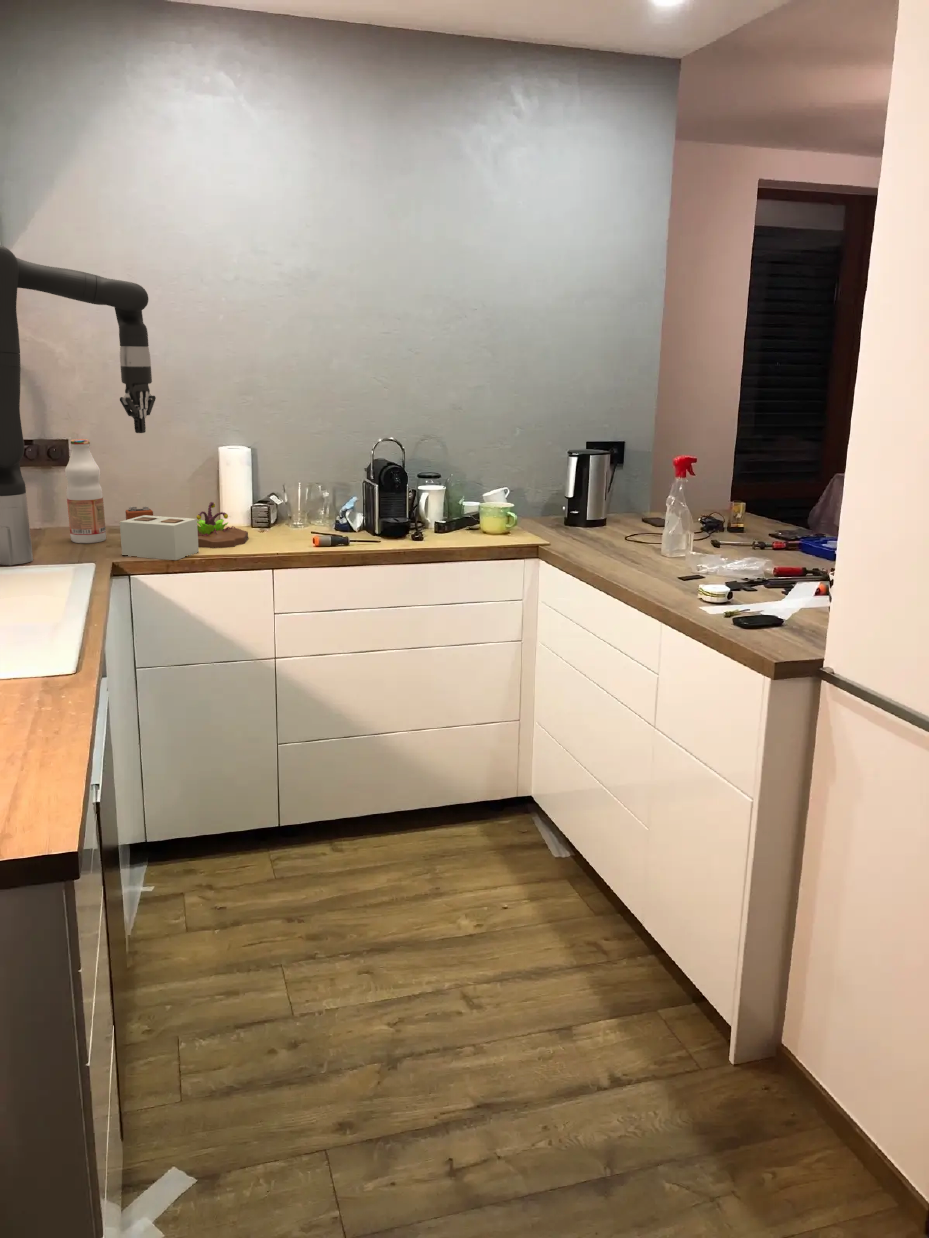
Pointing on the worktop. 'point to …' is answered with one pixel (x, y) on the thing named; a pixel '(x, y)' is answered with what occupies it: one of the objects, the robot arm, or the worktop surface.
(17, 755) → the worktop surface
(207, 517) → the plant
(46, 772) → the worktop surface
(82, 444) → the fruit juice
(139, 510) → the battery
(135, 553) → the socket block
